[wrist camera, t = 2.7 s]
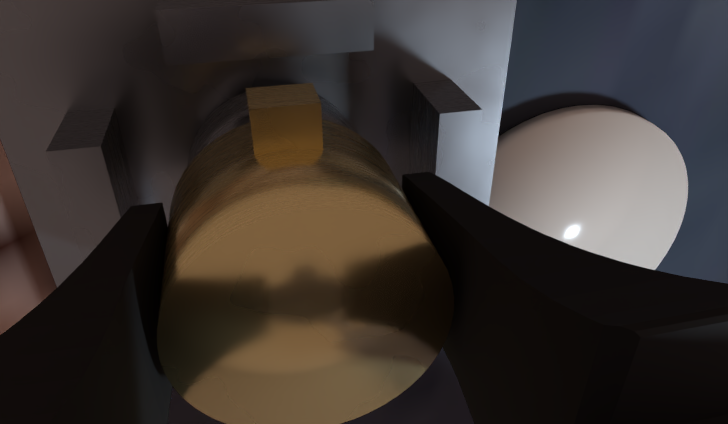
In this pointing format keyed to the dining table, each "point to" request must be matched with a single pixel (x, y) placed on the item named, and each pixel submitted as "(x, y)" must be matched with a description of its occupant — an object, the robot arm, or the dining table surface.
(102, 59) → the post base
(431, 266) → the cap
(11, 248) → the dining table surface
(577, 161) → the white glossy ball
